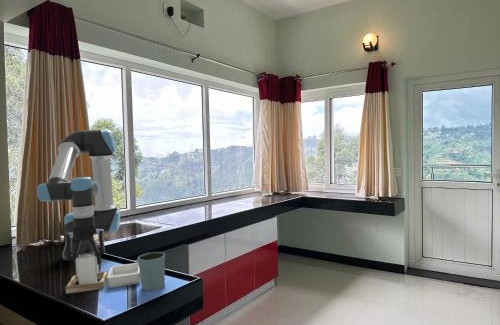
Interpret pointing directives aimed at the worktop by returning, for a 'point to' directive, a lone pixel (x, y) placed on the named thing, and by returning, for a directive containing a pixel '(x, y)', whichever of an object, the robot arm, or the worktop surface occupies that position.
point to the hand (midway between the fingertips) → (87, 273)
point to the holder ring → (86, 287)
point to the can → (86, 268)
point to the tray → (123, 275)
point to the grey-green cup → (152, 270)
